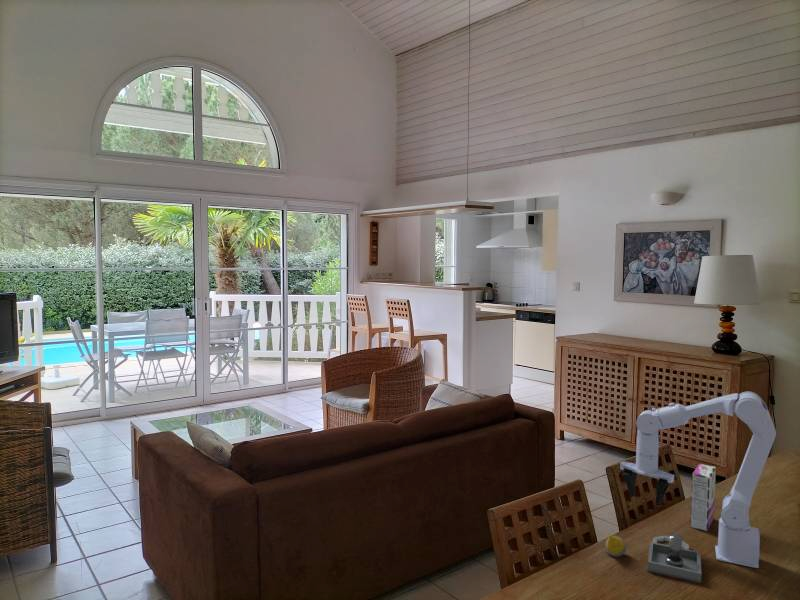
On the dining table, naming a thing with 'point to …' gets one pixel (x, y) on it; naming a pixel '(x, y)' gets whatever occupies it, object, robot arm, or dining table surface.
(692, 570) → the tray
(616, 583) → the dining table surface
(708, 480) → the candy bar box
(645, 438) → the robot arm
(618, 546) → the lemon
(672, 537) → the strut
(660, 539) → the seat ring
